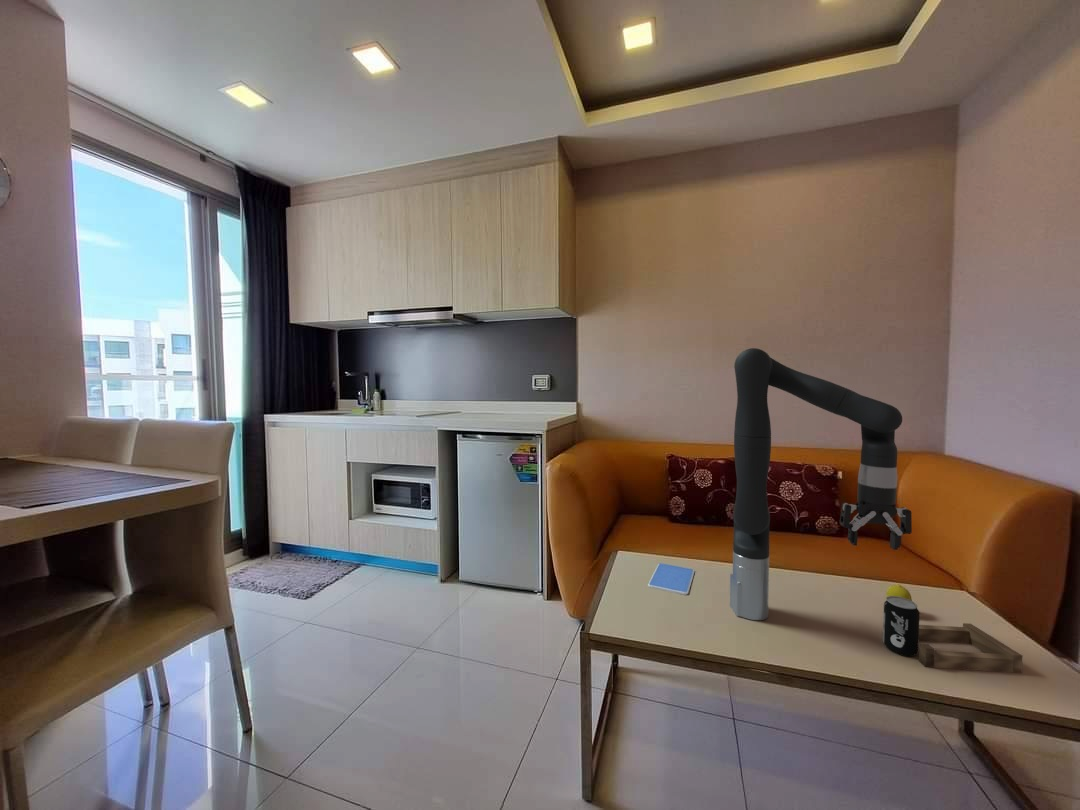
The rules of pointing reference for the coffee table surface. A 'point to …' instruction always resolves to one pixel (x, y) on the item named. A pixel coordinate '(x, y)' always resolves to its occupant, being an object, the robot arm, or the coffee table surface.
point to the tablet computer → (672, 579)
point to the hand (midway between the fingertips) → (873, 546)
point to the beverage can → (901, 626)
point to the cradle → (990, 660)
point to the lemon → (898, 592)
